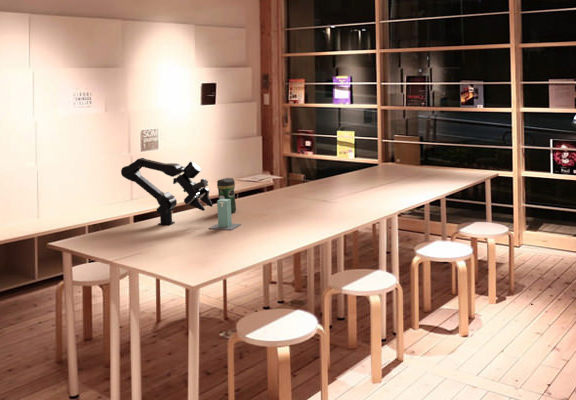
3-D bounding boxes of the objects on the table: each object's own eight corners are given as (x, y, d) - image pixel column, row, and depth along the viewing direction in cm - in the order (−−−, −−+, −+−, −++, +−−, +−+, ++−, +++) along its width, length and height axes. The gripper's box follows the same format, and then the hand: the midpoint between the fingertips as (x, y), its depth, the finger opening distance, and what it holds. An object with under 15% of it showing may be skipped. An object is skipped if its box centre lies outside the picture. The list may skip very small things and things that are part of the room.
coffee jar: (227, 210, 384) (226, 176, 381) (238, 211, 380) (237, 177, 376) (215, 213, 377) (214, 179, 373) (226, 214, 372) (225, 180, 369)
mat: (231, 230, 336) (231, 229, 336) (208, 228, 340) (208, 228, 340) (241, 224, 347) (241, 224, 347) (218, 223, 351) (218, 222, 351)
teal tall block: (218, 226, 342) (217, 200, 339) (222, 224, 346) (221, 198, 344) (227, 227, 340) (226, 201, 338) (231, 225, 345) (230, 199, 342)
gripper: (189, 177, 334) (210, 201, 334) (205, 170, 352) (226, 194, 351) (174, 192, 338) (196, 216, 338) (191, 185, 356) (212, 208, 355)
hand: (208, 208), depth 345 cm, fingers open, 9 cm apart
